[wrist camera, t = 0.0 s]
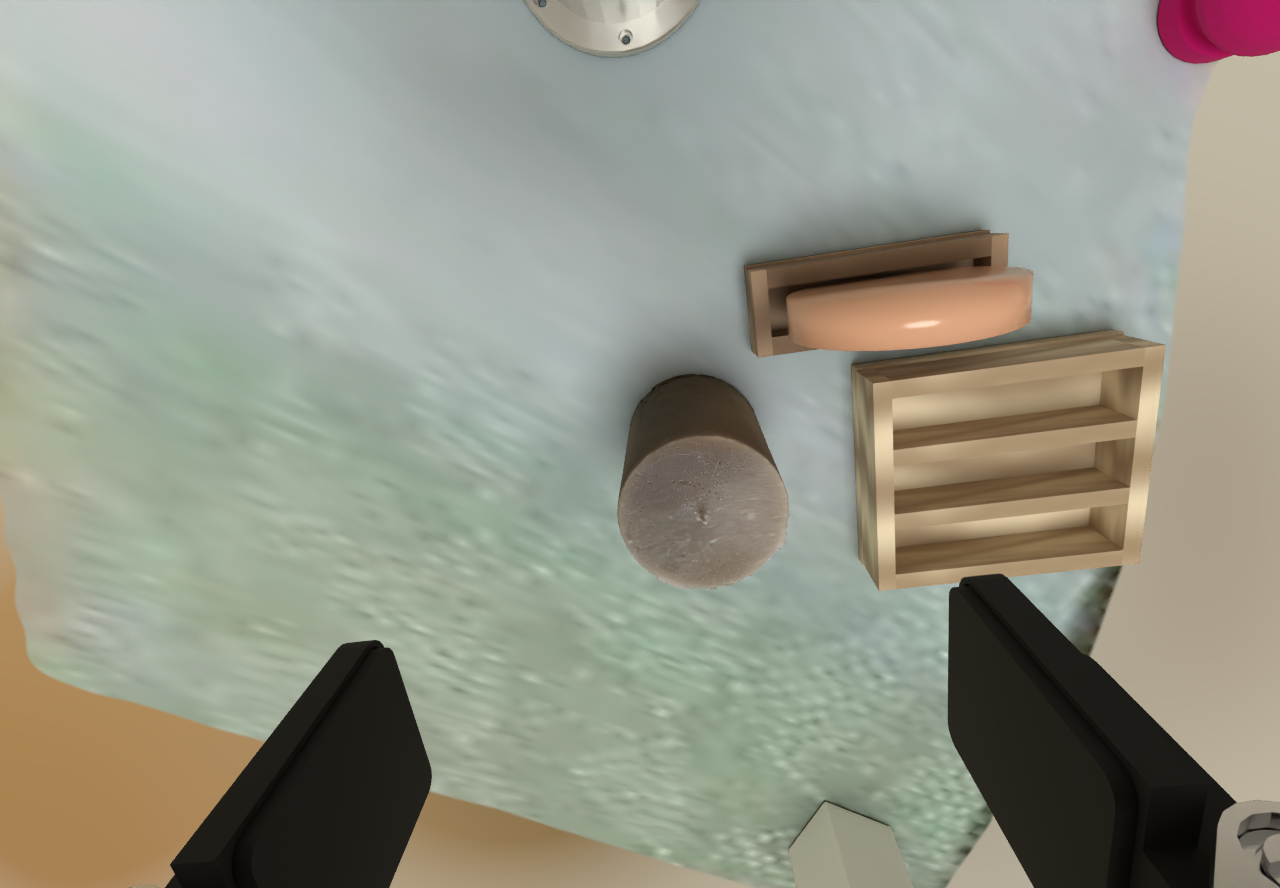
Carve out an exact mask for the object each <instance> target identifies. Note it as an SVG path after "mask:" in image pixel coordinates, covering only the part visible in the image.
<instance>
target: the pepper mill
mask: <svg viewBox="0 0 1280 888" xmlns="http://www.w3.org/2000/svg"><path fill="white" fill-rule="evenodd" d="M1158 28H1159V33H1160V37H1161V39H1162V41H1163V44H1164V46H1165V47H1166V48H1167V50H1168V51H1169V52H1170V53H1171V54H1172V55H1173V56H1174V57H1176V58H1178V59H1180V60H1182V61H1185V62H1188V63H1194V64H1197V63H1209V62H1213V61H1217V60H1220V59H1223V58H1225V57H1229V56H1232V55H1237V56H1250V57H1251V56H1252V57H1253V56H1260V55H1267V54H1270V53H1273V52H1277V51H1280V0H1161V2H1160V5H1159V12H1158Z"/></svg>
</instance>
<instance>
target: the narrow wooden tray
mask: <svg viewBox="0 0 1280 888" xmlns="http://www.w3.org/2000/svg"><path fill="white" fill-rule="evenodd" d="M1008 238H1009V234H1003V233H990V230H980V231H973V232H966V233H960V234H953V235H946V236H940V237H933V238H926V239H920V240H913V241H906V242H900V243H893V244H886V245H879V246H873V247H866V248H859V249H853V250H846V251H839V252H833V253H826V254H819V255H813V256H806V257H799V258H793V259H786V260H779V261H773V262H766V263H759V264H752V265H746V266H744V272H745V283H746V294H747V305H748V315H749V326H750V337H751V348H752V352H753V353H755V354H756V355H757V356H758V357H765V356H772V355H779V354H787V353H794V352H801V351H808V350H816V348H809V347H805V346H800V345H798V344H795V343H793V342H791V341H790V339H789V332H788V318H787V304H786V297H787V296H788V295H790V294H791V293H793V292H796V291H799V290H802V289H805V288H809V287H812V286H816V285H821V284H825V283H830V282H835V281H840V280H846V279H852V278H858V277H865V276H872V275H879V274H887V273H895V272H904V271H914V270H925V269H937V268H952V267H975V266H1003V267H1007V264H1008Z"/></svg>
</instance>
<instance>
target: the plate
mask: <svg viewBox="0 0 1280 888" xmlns="http://www.w3.org/2000/svg"><path fill="white" fill-rule="evenodd" d="M1032 292H1033V271H1031V270H1028V269H1025V268H1018V267H1003V266H975V267H952V268H937V269H925V270H914V271H904V272H895V273H887V274H879V275H872V276H865V277H858V278H852V279H846V280H840V281H835V282H830V283H825V284H821V285H816V286H812V287H809V288H805V289H802V290H799V291H796V292H793V293H791V294H790V295H788V296H787V297H786V304H787V318H788V332H789V339H790V341H791V342H793V343H795V344H798V345H800V346H805V347H809V348H816V349H825V350H839V351H884V350H902V349H916V348H927V347H936V346H944V345H952V344H958V343H965V342H970V341H976V340H981V339H986V338H990V337H995V336H998V335H1002V334H1006V333H1009V332H1012V331H1015V330H1017V329H1020V328H1022V327H1024V326H1025V325H1027V324H1028V323H1029V322H1030V321H1031V312H1032Z"/></svg>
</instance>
